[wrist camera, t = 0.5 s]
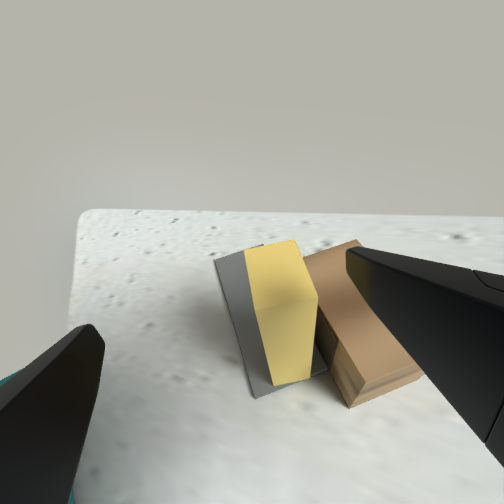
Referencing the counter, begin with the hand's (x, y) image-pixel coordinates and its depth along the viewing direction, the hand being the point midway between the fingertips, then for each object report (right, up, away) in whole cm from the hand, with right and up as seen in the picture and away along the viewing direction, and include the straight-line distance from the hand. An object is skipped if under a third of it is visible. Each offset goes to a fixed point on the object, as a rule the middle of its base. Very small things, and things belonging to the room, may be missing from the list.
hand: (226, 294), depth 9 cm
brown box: (+10, -6, +14) cm, 18 cm away
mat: (+2, -4, +17) cm, 18 cm away
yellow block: (+4, -8, +13) cm, 15 cm away
